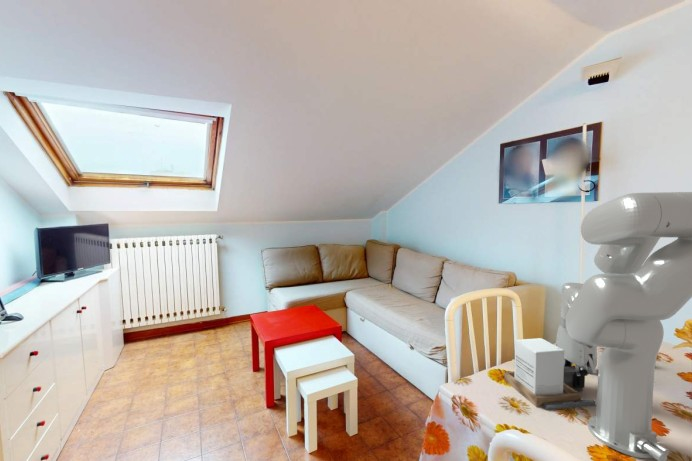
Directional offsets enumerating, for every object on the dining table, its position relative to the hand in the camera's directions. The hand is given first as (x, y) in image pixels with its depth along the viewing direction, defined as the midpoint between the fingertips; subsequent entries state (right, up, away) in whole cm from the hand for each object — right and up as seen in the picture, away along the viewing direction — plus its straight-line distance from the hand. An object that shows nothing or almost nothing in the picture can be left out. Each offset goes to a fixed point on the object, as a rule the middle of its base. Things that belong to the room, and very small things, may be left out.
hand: (573, 383), depth 92 cm
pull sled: (-8, -1, -1) cm, 8 cm away
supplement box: (-12, -2, -2) cm, 13 cm away
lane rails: (-9, -2, -1) cm, 9 cm away
